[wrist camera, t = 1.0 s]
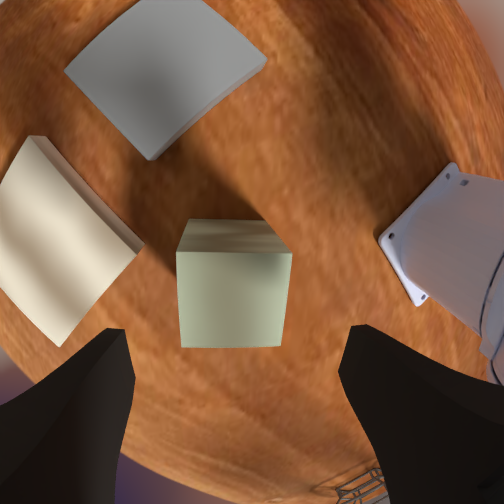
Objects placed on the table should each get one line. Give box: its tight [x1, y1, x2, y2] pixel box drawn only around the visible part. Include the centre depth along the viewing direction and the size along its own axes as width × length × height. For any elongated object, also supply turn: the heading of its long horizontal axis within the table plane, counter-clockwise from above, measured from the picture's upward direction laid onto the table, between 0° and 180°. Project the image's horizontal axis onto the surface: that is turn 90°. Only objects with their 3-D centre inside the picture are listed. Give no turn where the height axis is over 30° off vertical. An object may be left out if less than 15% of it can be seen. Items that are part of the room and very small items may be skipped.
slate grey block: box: [64, 0, 267, 160], centre depth 12 cm, size 8×8×2 cm
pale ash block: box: [0, 135, 145, 348], centre depth 14 cm, size 10×10×2 cm
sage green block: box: [176, 219, 292, 348], centre depth 14 cm, size 4×4×6 cm
